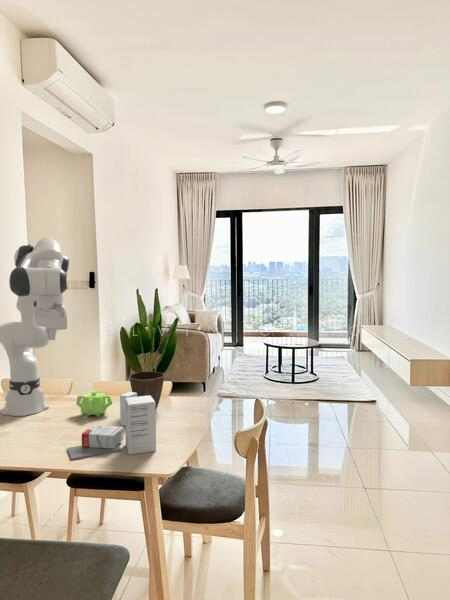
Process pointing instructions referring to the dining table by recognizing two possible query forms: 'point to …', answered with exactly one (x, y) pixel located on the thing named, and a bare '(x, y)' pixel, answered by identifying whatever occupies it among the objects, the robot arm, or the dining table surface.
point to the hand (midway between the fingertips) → (51, 339)
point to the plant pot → (147, 384)
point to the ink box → (102, 436)
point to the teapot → (94, 403)
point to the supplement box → (140, 424)
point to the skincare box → (122, 405)
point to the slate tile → (89, 451)
